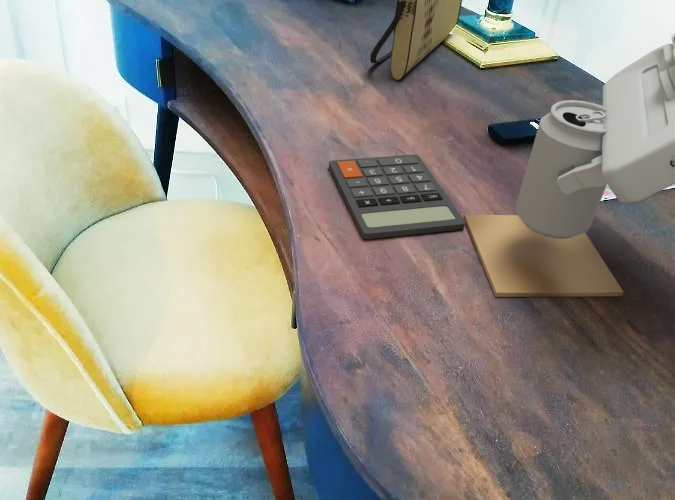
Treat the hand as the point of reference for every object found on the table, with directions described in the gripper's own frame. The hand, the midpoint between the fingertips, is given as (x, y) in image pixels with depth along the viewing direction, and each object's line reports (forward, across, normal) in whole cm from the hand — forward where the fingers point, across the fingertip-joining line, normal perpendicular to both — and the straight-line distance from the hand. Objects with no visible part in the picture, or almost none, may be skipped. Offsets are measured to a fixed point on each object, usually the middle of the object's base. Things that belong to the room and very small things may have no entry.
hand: (562, 162), depth 61 cm
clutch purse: (+25, +49, +10) cm, 56 cm away
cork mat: (+8, 0, -8) cm, 11 cm away
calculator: (+20, +4, +4) cm, 20 cm away
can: (+4, 0, -5) cm, 7 cm away
